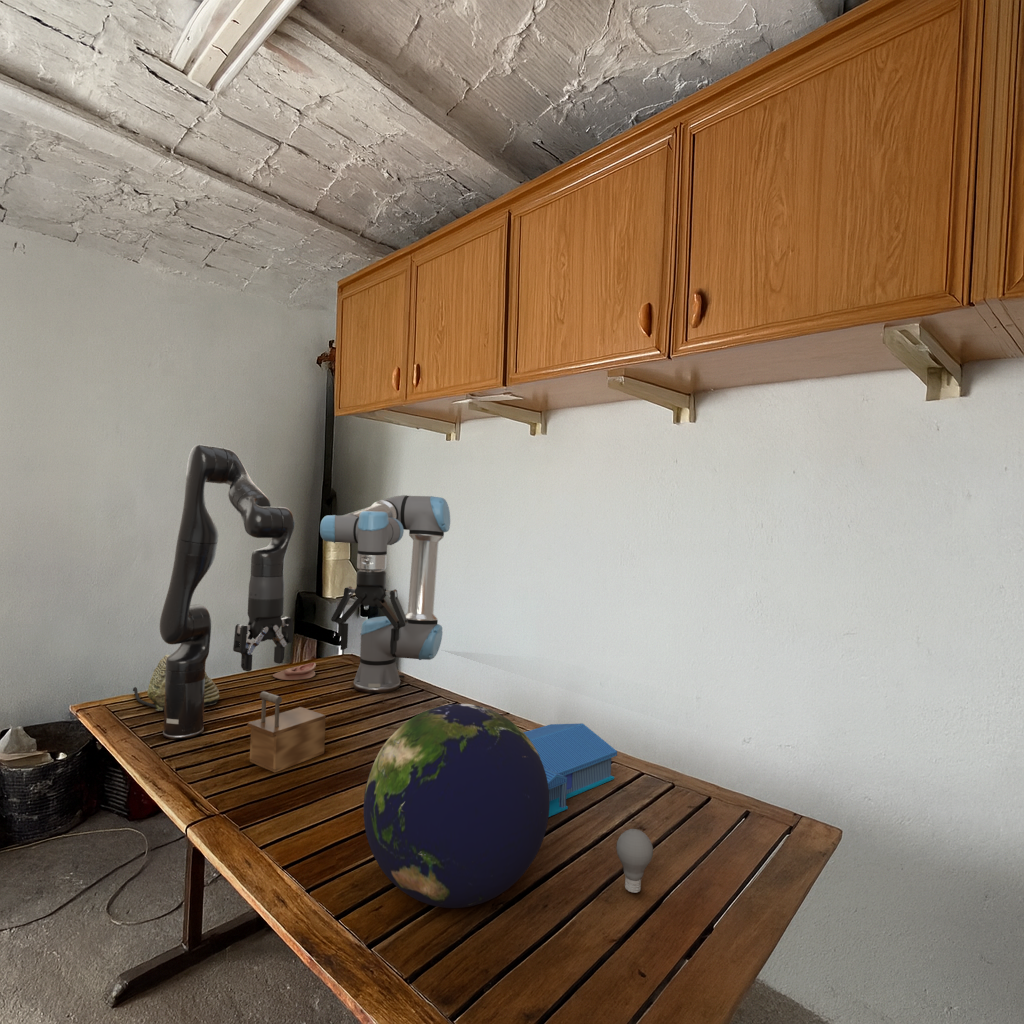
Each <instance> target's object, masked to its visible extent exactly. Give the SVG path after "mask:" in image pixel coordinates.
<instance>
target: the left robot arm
mask: <svg viewBox="0 0 1024 1024" xmlns="http://www.w3.org/2000/svg"><path fill="white" fill-rule="evenodd" d="M185 477H186V478H185V487H184V488H185V489H184V501H183V507H182V514H181V519H180V523H179V530H178V535H177V539H176V546H175V551H174V552H175V553H174V560H173V565H172V566H173V567H172V571H171V576H170V580H169V585H168V589H167V593H166V596H165V600H164V603H163V608H162V611H161V615H160V618H159V634H160V637H161V639H162V641H164V643H166V644H168V645H179V647H178V648H177V649H176V650H175V651H174V652H173V653H170V654H169V655H170V656H169V657H168V658H167V660H166V674H165V705H164V708H163V710H162V711H163V731H162V737H164V738H166V739H169V740H185V739H190V738H191V739H192V738H194V737H197V736H199V735H202V734H203V732H204V730H205V729H204V726H205V725H204V722H205V721H204V718H205V706H204V693H205V672H206V664H207V663H206V662H207V659H208V657H209V653H210V647H211V636H212V617H211V614H210V612H209V610H208V609H207V607H206V606H205V605H202V604H192V599H193V596H194V593H195V591H196V590H197V587H198V586H199V584H200V582H202V580H203V579H204V577H205V576H206V574H207V573H208V572H209V570H210V569H211V567H212V565H213V563H214V561H215V559H216V553H217V548H218V542H219V532H218V528H217V526H216V523H215V521H214V519H213V517H212V515H211V514H210V512H209V509H208V507H207V504H206V500H205V486H206V483H211V484H219V485H221V484H225V485H228V486H229V488H228V493H227V494H228V495H227V496H228V500H229V503H230V504H231V506H232V507H233V508H234V509H235V510H236V511H237V512H238V514H239V515H240V516H241V520H242V522H243V527H244V530H245V533H246V534H247V535H248V536H250V537H252V538H255V539H271V540H270V541H269V544H268V545H267V546H264V547H261V548H257V549H254V550H253V551H252V553H251V558H250V561H251V562H250V575H249V576H250V577H249V583H248V595H247V597H248V598H247V616H248V622H247V624H239V623H237V624H236V625H235V626H234V637H233V639H234V640H233V646H232V647H233V648H232V650H233V652H236V653H239V654H240V656H241V660H240V667H241V669H242V670H243V671H244V672H251V671H252V670H253V652H254V650H255V648H256V647H258V646H259V645H260V643H261V642H262V643H263V642H266V641H267V640H269V641H271V640H272V642H273V643H274V644H275V646H274V647H273V648H274V651H273V662H274V663H275V664H279V665H280V664H283V662H284V660H285V651H286V650H285V649H286V647H287V645H288V644H291V643H292V642H293V640H294V620H293V619H294V618H293V617H290V616H286V615H285V616H283V615H284V609H285V607H284V605H285V576H284V575H285V559H286V555H287V552H288V549H289V545H290V542H291V540H292V536H293V534H294V530H295V521H296V520H295V517H294V513H293V512H292V511H291V510H290V509H289V508H288V507H284V506H271V505H272V503H271V501H270V499H269V498H268V496H267V495H266V494H265V493H264V492H263V491H262V490H261V489H260V488H259V487H258V485H256V484H255V483H254V481H253V480H252V478H251V477H250V475H249V473H248V471H247V469H246V467H245V465H244V464H243V462H242V460H241V459H240V457H239V455H238V454H237V453H236V452H235V451H234V450H232V449H230V448H226V447H220V446H213V445H207V444H195V445H194V446H193V447H192V448H191V450H190V452H189V455H188V458H187V465H186V476H185ZM280 629H281V630H280ZM132 692H134V696H135V700H136V701H137V702H138V703H139V704H142V705H144V706H148V707H150V708H152V709H156V706H155V703H151V702H148V701H145V700H143V699H141V698H140V695H139V693H138V692H139V691H138V687H136V686H135V687H133V689H132Z"/></svg>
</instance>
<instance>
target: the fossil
mask: <svg viewBox="0 0 1024 1024" xmlns="http://www.w3.org/2000/svg"><path fill="white" fill-rule="evenodd" d="M170 655H171V654H165V655H164V656H163V657H162V658H161V659H160V660H159V662H158V663H157V666H156V667H155V669H154V670H153V672H152V675H151V677H150V680H149V684H148V688H147V697H148V699H149V700H150V701H152V703H153V704H154V705H155V706H156V708H155V711H158V712H159V711H162V712H163V711H164V710H163V708H164V705H165V674H166V660H167V658H168V657H169V656H170ZM220 698H221V696H220V690H219V688H218V686H217V685H216V683H215V682H214V681H213V679H212V678H211V677H209V675H208V674H207V672H206V671H205V693H204V707H207V706H213V705H215V704H217V703H218V701H219V699H220Z"/></svg>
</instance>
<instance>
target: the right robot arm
mask: <svg viewBox="0 0 1024 1024" xmlns="http://www.w3.org/2000/svg"><path fill="white" fill-rule="evenodd" d="M450 527H451V511H450V507H449V504H448V501H447V500H446V499H445V498H444V497H442V496H441V497H439V496H432V495H431V496H430V495H408V494H407V495H405V494H402V495H395V496H394V495H393V496H391V497H385V498H382V499H380V500H377V501H375V502H373V503H372V504H371V506H368V507H365V508H362V509H358V510H355V511H352V512H349V513H346V514H343V515H336V514H332V515H331V514H330V515H325V516H324V517H323V518H322V519H321V521H320V526H319V533H320V537H321V539H322V540H323V541H324V542H329V543H333V544H336V543H341V544H342V543H343V544H344V543H345V544H357V555H356V556H357V559H356V568H357V569H358V570H357V571H356V581H355V583H356V587H355V588H354V587H352V586H347V587H345V588H344V589H343V595H342V597H341V599H340V601H339V603H338V605H337V606H336V608H335V610H334V612H333V614H332V616H331V618H330V620H331V621H330V622H334V623H336V624H337V636H338V637H340V647H339V648H340V651H344V650H346V649H347V648H348V640H349V623H347V621H348V620H349V619H350V617H352V615H353V614H355V612H357V609H359V608H360V607H361V605H362V606H363V607H368V606H370V607H378V609H380V610H381V612H382V613H383V614H384V616H375V617H370V618H368V619H365V620H363V621H362V623H361V631H360V651H359V652H360V655H359V664H358V665H359V666H358V668H357V671H356V674H355V677H354V679H353V686H352V687H353V689H354V690H356V691H358V692H360V693H367V694H384V693H390V692H394V691H397V690H398V689H400V687H401V679H404V678H406V677H405V675H403V674H399V671H398V667H397V664H396V658H398V659H399V658H400V659H410V660H411V659H412V660H419V661H422V660H423V661H425V660H426V661H430V660H433V659H434V658H435V657H437V655H438V652H439V650H440V648H441V644H442V640H443V625H441V624H440V623H439V622H438V621H439V619H438V617H437V616H436V615H435V599H436V584H437V571H438V558H439V557H438V556H439V544H440V541H441V540H442V539H444V536H445V533H447V532H449V531H450ZM404 531H408V536H409V537H410V538H411V540H412V551H411V562H410V579H409V589H408V603H407V612H406V613H405V611H404V609H403V606H402V604H401V602H400V600H399V597H398V596H399V595H398V590H397V589H392V590H391V589H390V590H387V588H386V584H387V572H386V571H385V570H386V569H387V560H388V559H387V556H388V554H387V553H388V546H392V545H395V544H396V543H399V542H400V541H401V539H402V538H403V537H404V533H405V532H404ZM353 595H355V596H356V600H355V601H353V603H352V605H350V607H349V608H348V609H347V610H346V611H345V612H344V610H345V608H346V607H347V605H348V603H349V601H350V599H351V597H352V596H353ZM386 596H387V598H388V599H389V600H390V603H391V605H392V608H393V610H394V612H395V613H394V612H393V610H392V609H391V608H390V606H389V605H388V602H387V601H386V600H385V598H386ZM343 612H344V613H343ZM395 614H396V615H395Z"/></svg>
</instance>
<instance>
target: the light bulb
mask: <svg viewBox="0 0 1024 1024" xmlns="http://www.w3.org/2000/svg"><path fill="white" fill-rule="evenodd" d="M615 849H616V854H617V857H618V859H619V861H620V863H621V865H622V867H623V873H624V874H623V875H624V876H625V878H624V888H625V890H627V891H628V892H630V893H634V894H635V893H639V892H640V891H641V889H642V887H641V886H642V879H643V877H644V875H645V871H646V868H647V867H648V866H649V864H650V863H651V861H652V859H653V855H654V847H653V843H652V841H651V838H649V836H648V835H647V834H646V833H645V832H643V831H642V830H641V829H636V828H629V829H627V830H625V831H623V832H622V833H621V834H620V835H619V837H618V839H617V841H616V847H615Z"/></svg>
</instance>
